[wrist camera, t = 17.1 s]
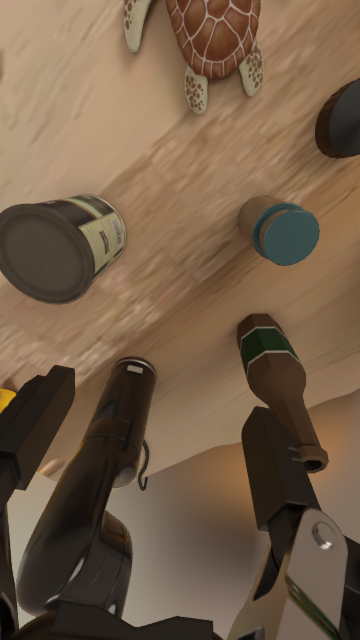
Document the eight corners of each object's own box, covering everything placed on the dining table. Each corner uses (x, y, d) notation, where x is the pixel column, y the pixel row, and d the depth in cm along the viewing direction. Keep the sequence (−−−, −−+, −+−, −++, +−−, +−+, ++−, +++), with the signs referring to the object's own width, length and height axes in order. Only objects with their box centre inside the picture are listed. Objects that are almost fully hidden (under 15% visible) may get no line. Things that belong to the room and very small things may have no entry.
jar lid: (319, 90, 27) (335, 79, 24) (385, 78, 26) (410, 65, 23) (310, 162, 30) (322, 160, 27) (368, 153, 29) (388, 151, 26)
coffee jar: (278, 236, 35) (318, 265, 23) (238, 241, 36) (258, 272, 24) (280, 192, 32) (328, 200, 21) (237, 199, 33) (259, 210, 21)
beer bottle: (229, 320, 43) (259, 453, 22) (272, 305, 41) (350, 435, 20) (242, 352, 46) (280, 491, 26) (283, 339, 44) (359, 480, 24)
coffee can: (45, 221, 36) (-32, 244, 24) (94, 178, 32) (33, 178, 20) (92, 276, 40) (47, 320, 28) (140, 243, 37) (113, 275, 25)
